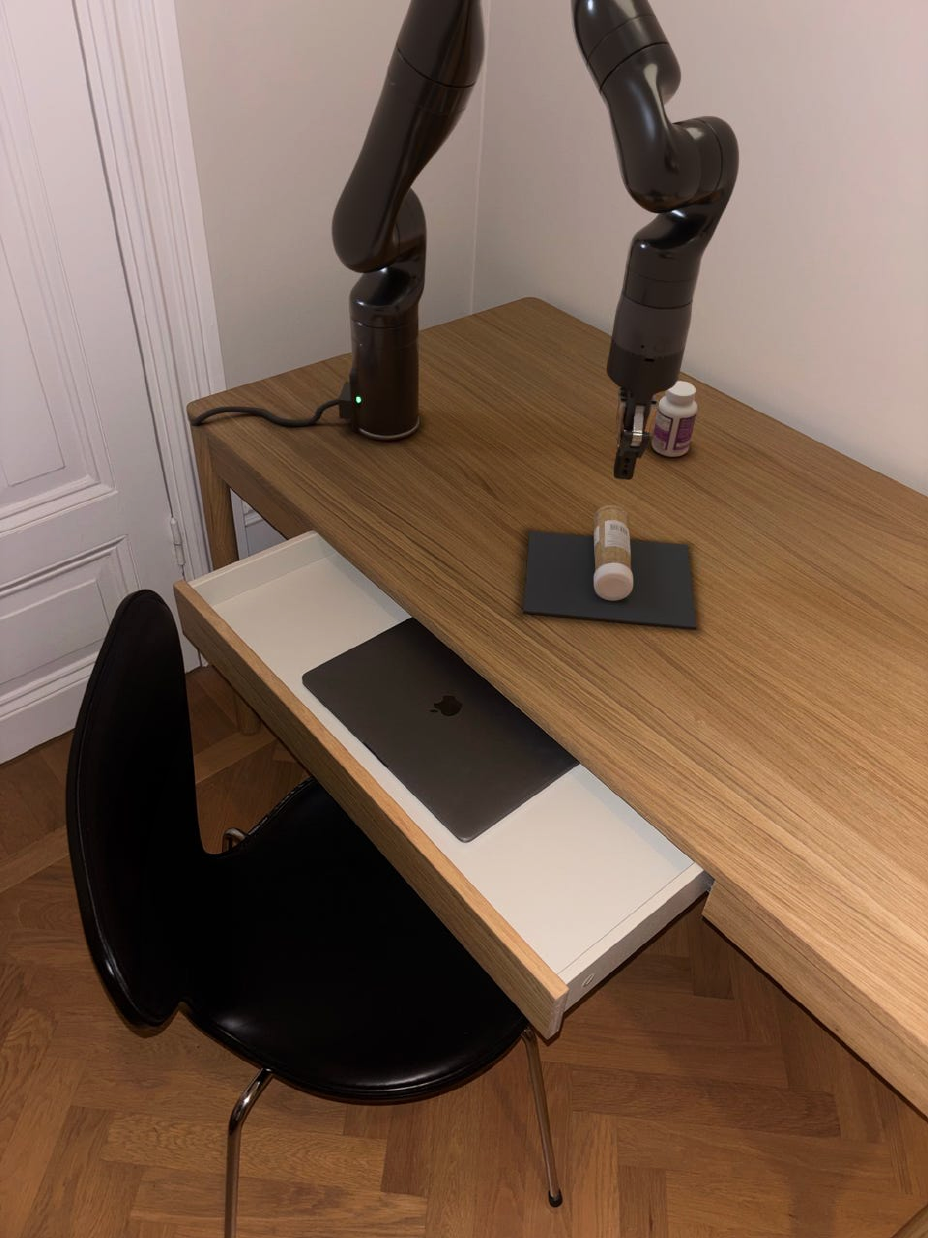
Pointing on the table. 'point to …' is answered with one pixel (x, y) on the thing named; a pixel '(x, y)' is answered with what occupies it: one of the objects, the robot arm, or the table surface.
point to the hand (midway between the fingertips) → (622, 475)
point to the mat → (568, 582)
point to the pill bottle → (675, 420)
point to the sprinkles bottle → (612, 553)
